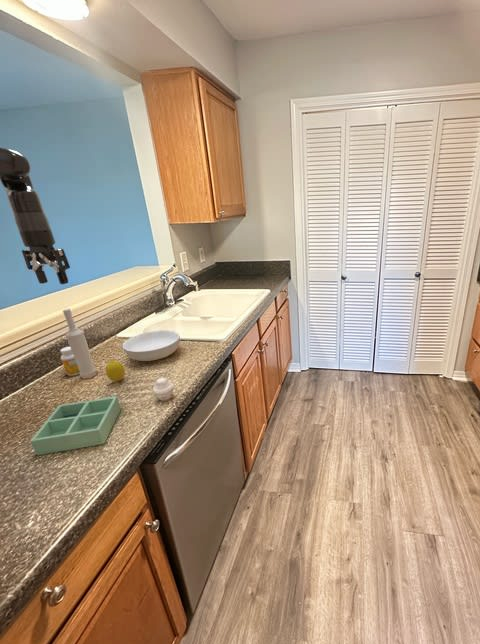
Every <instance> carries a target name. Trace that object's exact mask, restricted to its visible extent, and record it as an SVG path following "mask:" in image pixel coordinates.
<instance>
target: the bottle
mask: <svg viewBox="0 0 480 644" xmlns="http://www.w3.org/2000/svg"><path fill="white" fill-rule="evenodd" d="M62 313H63V316H64V317H65V320H66V323H67V326H68V331H67V333H66V334H65V338H66V340H67V343H68V345H69V347H70V348H71V350H72V353H73V355H74V358H75V360H76V363H77V365H78V368H79V371H80V374H79V376H80V378H82V379H84V380H85V379H86V380H87V379H90V378H91V379H92V378H93V377H95V376H96V375H97V373H98V372H97V371H98V370H97V368H96V367H95V364H94V361H93V358H92V355H91V351H90V348H89V345H88V342H87V339H86V336H85V332H84V330H82V329H79V328H78V327H77V326H76V323H75V321H74V320H75V319H74V317H73V314H72V311H71V308H64V309H62Z"/></svg>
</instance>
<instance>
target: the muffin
mask: <svg viewBox="0 0 480 644" xmlns="http://www.w3.org/2000/svg"><path fill="white" fill-rule="evenodd" d="M174 388H175V385H174V384H173V382H171V381H169V380H168V379H167V378H166V377H161V378H157V379H156V381H155V383H154V386H153V387H152V393H153V395H154V396H155V397H156V398H157V399H159V400H160V401H162V402H165V401H169V400H170V399H171V398H172V397H173V393H174Z"/></svg>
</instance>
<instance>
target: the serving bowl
mask: <svg viewBox="0 0 480 644" xmlns="http://www.w3.org/2000/svg"><path fill="white" fill-rule="evenodd" d="M180 343H181V335H180V333H178V332H177V331H174V330H170V329H158V330H157V329H156V330H152V331H146V332H142V333H139V334H136V335H133V336H131V337H130V338H127V339H126V340H125V341H124V342H123V343H122V350H123V352H124V353H125V354H126V356H127V357H129V358H131V359H132V360H135V361H140V362H152V361H157V360H162V359H163V358H167V357H168V356H170V355H172V354H173V353H174V352H175V351H176V350H177V349H178V348H179V346H180Z"/></svg>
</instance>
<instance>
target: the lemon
mask: <svg viewBox="0 0 480 644" xmlns="http://www.w3.org/2000/svg"><path fill="white" fill-rule="evenodd" d="M125 374H126V370H125V367H124V365H123V363H121V361H119V360H110V361H109V362H108V363H107V364H106V366H105V375H106V377H107V378H108V379H109V380H110V381H112V382H113V381H114V382H120V381H121V380H122V379H124V377H125Z"/></svg>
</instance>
